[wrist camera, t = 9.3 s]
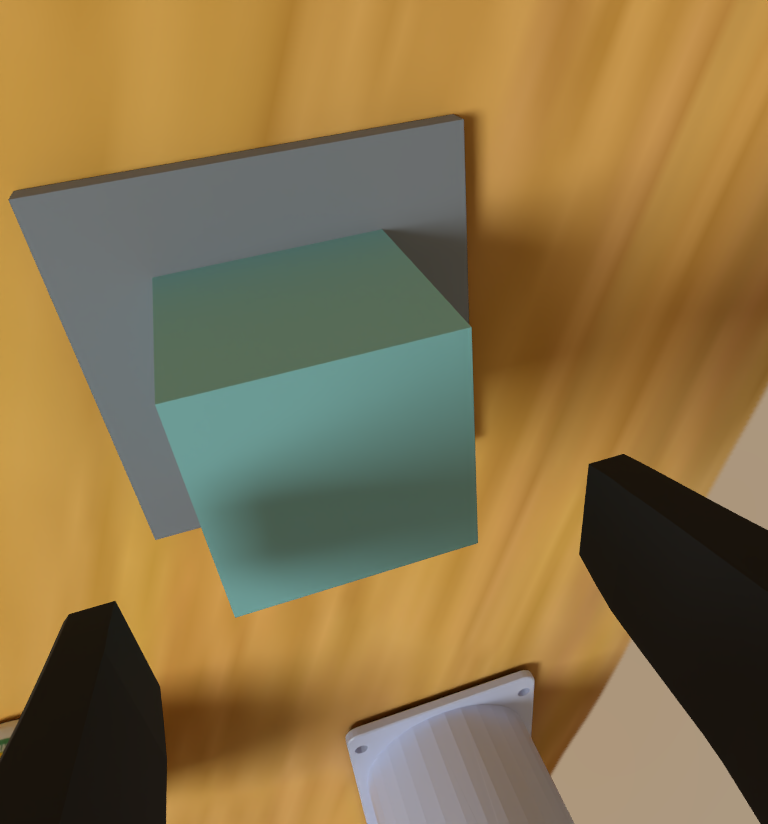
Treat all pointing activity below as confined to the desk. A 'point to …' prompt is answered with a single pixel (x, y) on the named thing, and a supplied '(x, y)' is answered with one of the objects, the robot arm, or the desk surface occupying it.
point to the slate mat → (227, 253)
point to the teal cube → (317, 414)
